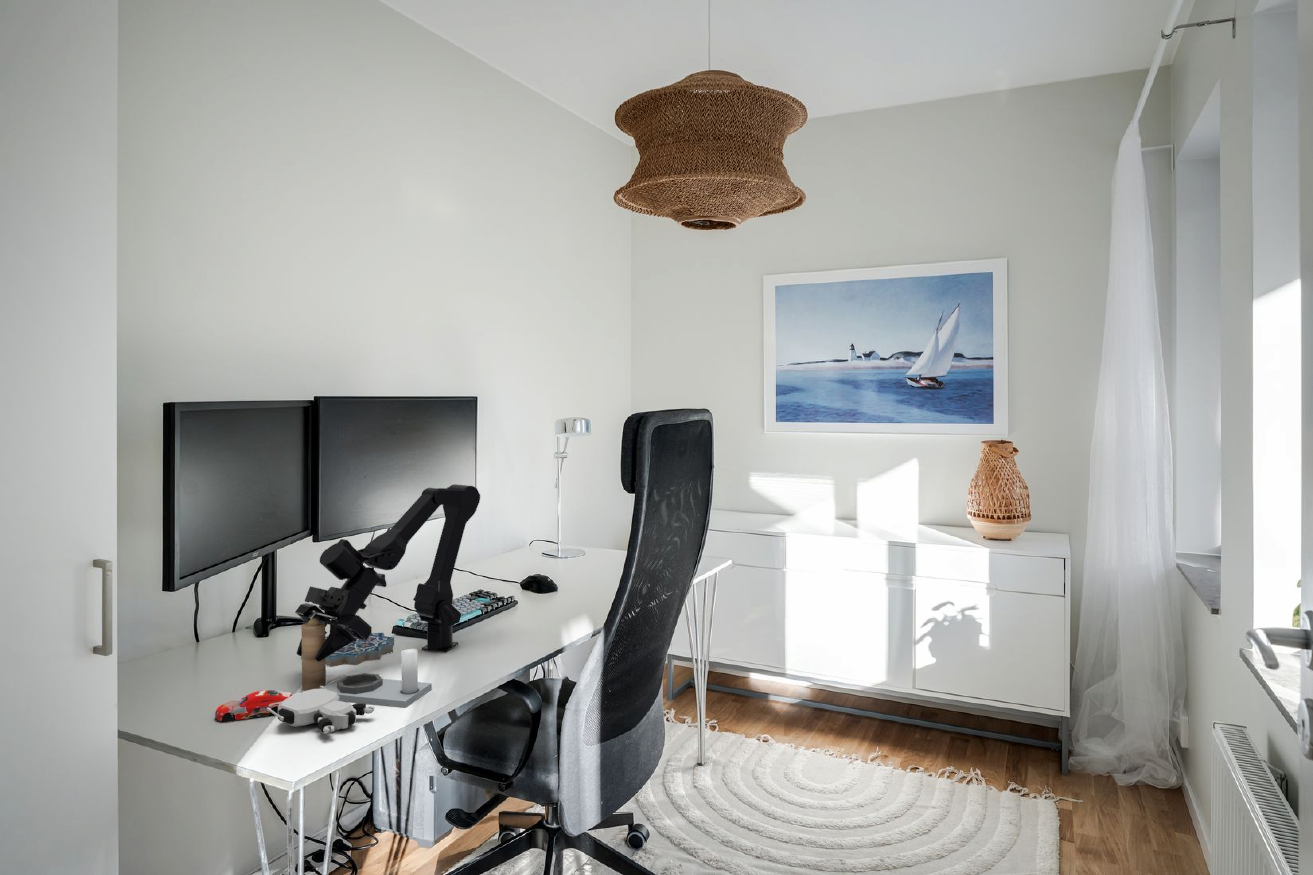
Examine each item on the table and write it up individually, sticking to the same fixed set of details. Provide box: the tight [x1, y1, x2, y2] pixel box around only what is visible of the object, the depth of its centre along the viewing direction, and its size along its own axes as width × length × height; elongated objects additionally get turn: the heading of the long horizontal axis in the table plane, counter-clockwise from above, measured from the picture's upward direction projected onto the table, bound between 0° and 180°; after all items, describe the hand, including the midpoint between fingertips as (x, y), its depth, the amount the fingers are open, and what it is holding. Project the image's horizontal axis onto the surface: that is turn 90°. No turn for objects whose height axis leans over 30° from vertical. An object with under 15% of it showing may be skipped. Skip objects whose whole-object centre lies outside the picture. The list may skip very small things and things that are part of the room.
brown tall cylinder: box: [301, 619, 327, 692], centre depth 158 cm, size 4×4×14 cm
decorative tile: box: [300, 632, 395, 668], centre depth 182 cm, size 20×20×2 cm
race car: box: [214, 689, 293, 723], centre depth 145 cm, size 13×5×4 cm, turn 112°
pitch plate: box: [320, 648, 433, 708], centre depth 155 cm, size 10×20×9 cm, turn 77°
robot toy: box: [267, 686, 375, 734], centre depth 141 cm, size 12×4×15 cm
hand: (307, 657), depth 157 cm, fingers open, 6 cm apart
